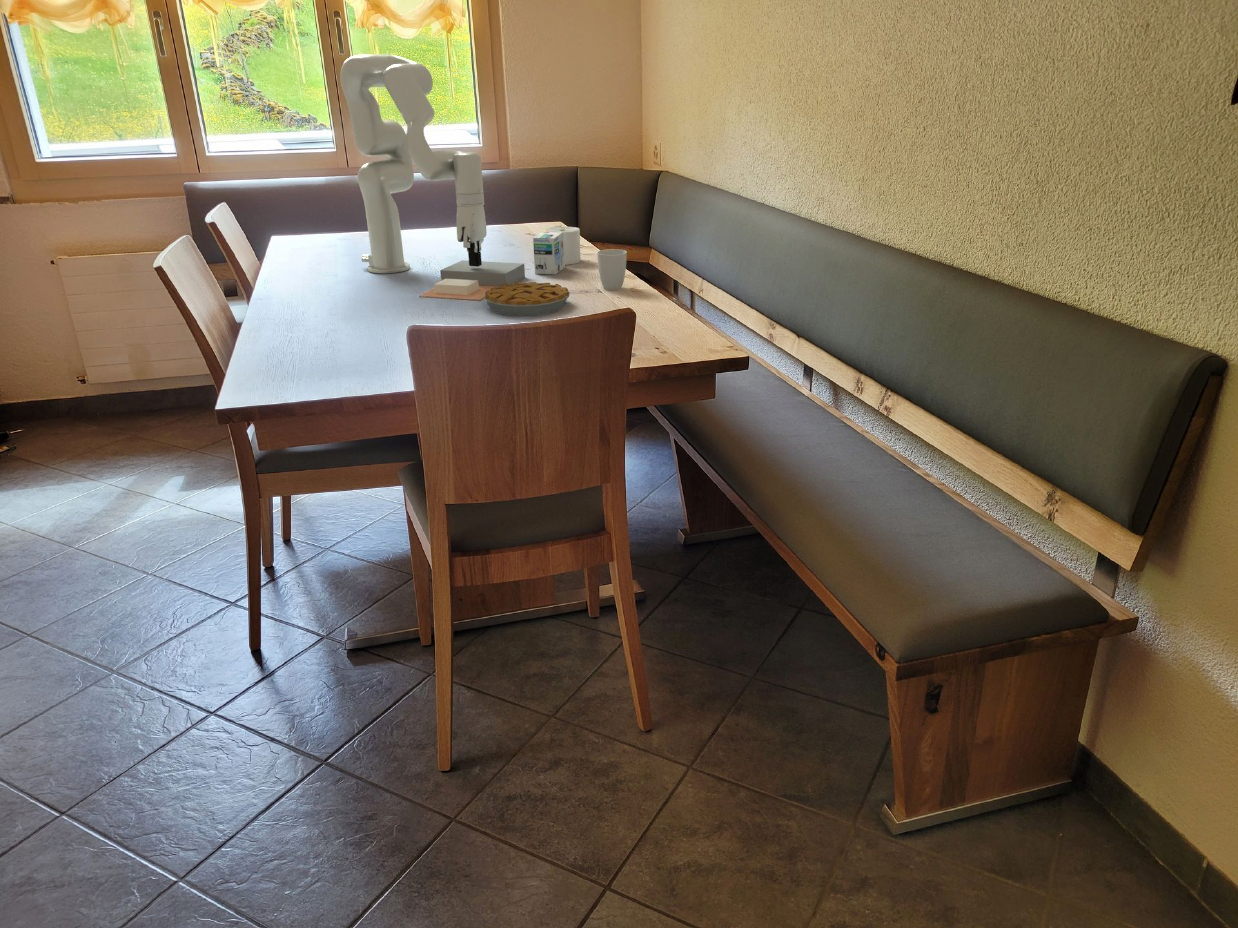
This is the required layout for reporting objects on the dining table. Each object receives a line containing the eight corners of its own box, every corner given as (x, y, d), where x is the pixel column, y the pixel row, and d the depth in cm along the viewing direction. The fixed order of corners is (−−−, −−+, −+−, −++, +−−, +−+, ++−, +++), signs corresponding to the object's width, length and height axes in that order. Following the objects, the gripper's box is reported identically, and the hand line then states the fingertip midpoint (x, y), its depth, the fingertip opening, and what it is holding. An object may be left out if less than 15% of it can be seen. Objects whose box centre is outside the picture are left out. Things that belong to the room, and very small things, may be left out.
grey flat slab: (441, 284, 251) (440, 270, 250) (463, 273, 263) (462, 260, 262) (506, 288, 246) (505, 273, 244) (525, 277, 258) (524, 263, 256)
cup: (630, 286, 246) (630, 250, 242) (621, 292, 239) (621, 255, 235) (603, 284, 249) (603, 248, 245) (593, 290, 242) (592, 254, 238)
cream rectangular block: (445, 278, 246) (446, 287, 247) (433, 284, 240) (434, 292, 241) (478, 280, 243) (478, 289, 244) (466, 286, 237) (467, 295, 238)
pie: (536, 322, 214) (535, 302, 212) (467, 311, 224) (466, 292, 222) (586, 302, 231) (585, 284, 228) (520, 293, 241) (518, 275, 239)
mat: (419, 296, 238) (419, 295, 238) (444, 284, 251) (444, 283, 251) (479, 300, 233) (479, 299, 233) (502, 288, 246) (502, 286, 246)
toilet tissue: (560, 266, 271) (559, 233, 267) (537, 261, 279) (536, 229, 275) (587, 261, 277) (586, 229, 273) (564, 256, 286) (563, 225, 281)
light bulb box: (555, 275, 260) (554, 238, 256) (534, 274, 262) (532, 237, 257) (565, 267, 270) (563, 231, 265) (544, 267, 271) (542, 231, 267)
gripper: (469, 195, 251) (475, 260, 258) (445, 203, 238) (451, 270, 245) (494, 196, 249) (498, 261, 256) (470, 203, 236) (476, 272, 243)
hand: (475, 265), depth 251 cm, fingers closed
